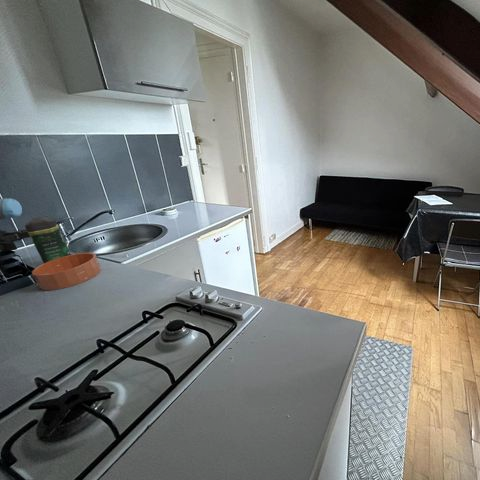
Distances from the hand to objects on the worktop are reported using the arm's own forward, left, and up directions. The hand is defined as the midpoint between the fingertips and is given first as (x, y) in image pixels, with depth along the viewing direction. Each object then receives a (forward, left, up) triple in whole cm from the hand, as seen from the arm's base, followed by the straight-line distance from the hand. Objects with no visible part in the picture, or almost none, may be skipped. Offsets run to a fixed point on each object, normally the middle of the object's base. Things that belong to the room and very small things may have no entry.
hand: (36, 238), depth 97 cm
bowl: (+11, -20, -10) cm, 26 cm away
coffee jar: (+4, -3, -11) cm, 12 cm away
